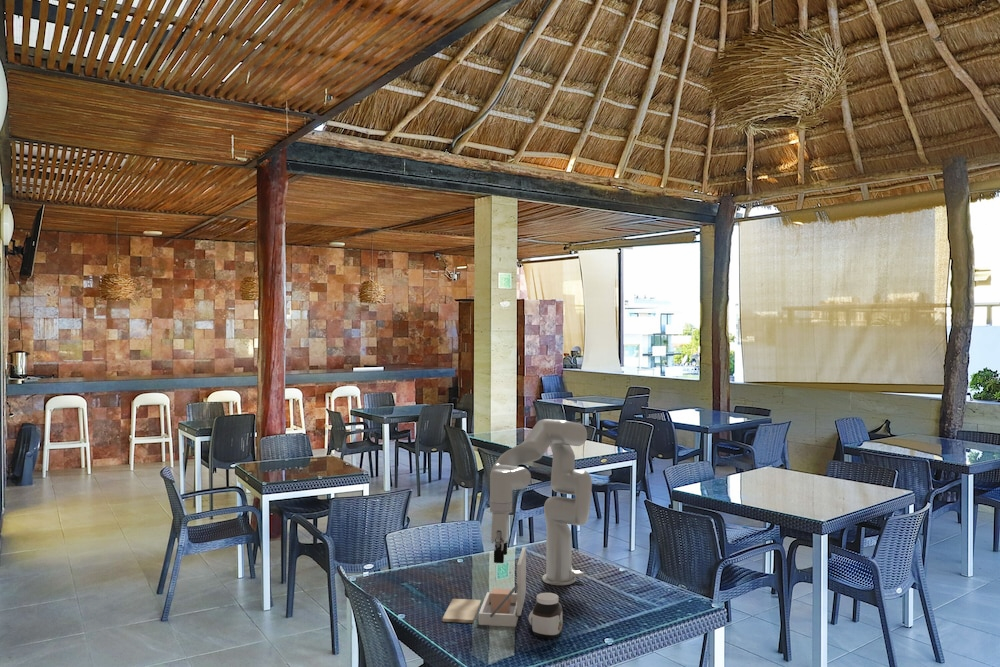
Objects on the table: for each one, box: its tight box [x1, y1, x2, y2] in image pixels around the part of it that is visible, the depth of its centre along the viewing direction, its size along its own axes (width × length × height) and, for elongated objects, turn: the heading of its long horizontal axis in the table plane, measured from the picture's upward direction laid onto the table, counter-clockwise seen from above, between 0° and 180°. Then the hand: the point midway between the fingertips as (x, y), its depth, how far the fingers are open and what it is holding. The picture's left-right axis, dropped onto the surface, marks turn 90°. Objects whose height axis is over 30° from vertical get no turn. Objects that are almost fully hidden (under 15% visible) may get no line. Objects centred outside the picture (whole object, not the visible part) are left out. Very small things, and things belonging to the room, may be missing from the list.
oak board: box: [441, 598, 482, 624], centre depth 236 cm, size 10×18×1 cm, turn 173°
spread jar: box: [528, 592, 563, 640], centre depth 220 cm, size 12×11×12 cm
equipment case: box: [478, 546, 527, 627], centre depth 234 cm, size 14×21×20 cm, turn 173°
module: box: [491, 587, 512, 614], centre depth 235 cm, size 6×5×7 cm
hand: (500, 558), depth 235 cm, fingers open, 9 cm apart
